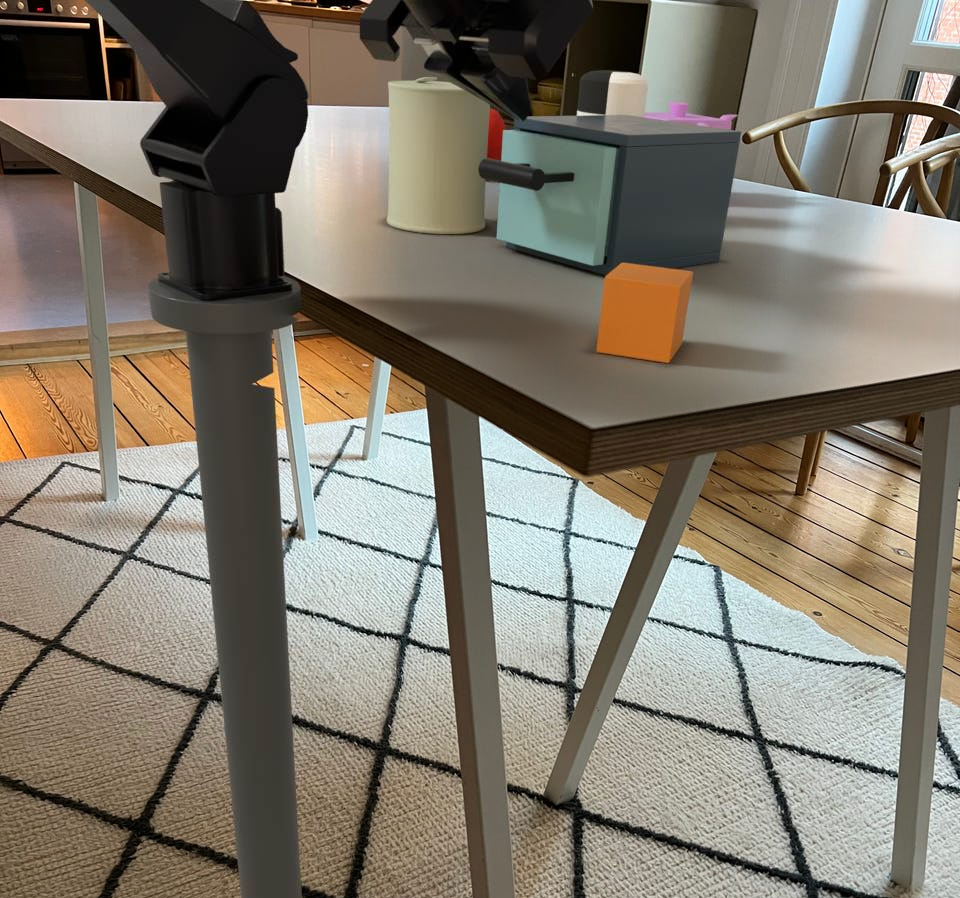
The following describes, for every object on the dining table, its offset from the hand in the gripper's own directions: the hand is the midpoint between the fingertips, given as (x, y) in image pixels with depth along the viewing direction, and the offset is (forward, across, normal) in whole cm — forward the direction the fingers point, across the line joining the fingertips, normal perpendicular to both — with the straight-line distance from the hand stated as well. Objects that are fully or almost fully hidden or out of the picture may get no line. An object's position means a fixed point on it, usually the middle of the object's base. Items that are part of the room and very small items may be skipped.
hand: (524, 115), depth 75 cm
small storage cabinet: (+16, 0, 0) cm, 16 cm away
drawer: (+12, 0, +2) cm, 12 cm away
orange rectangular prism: (+2, -21, +14) cm, 25 cm away
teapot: (+38, +21, -22) cm, 49 cm away
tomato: (+29, +42, -13) cm, 53 cm away
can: (+12, +17, +4) cm, 21 cm away
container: (+25, +14, -9) cm, 30 cm away
